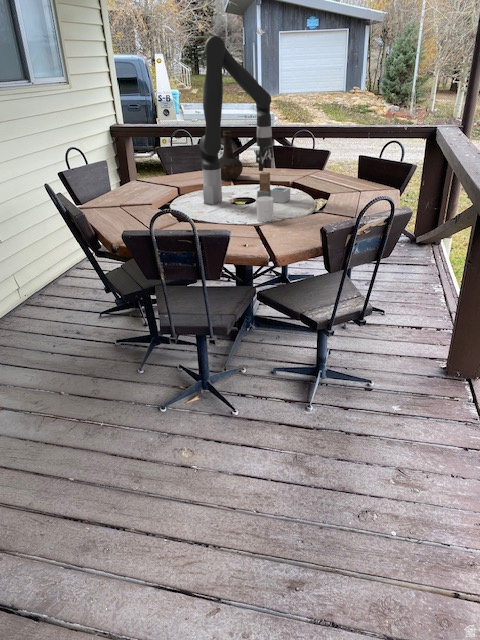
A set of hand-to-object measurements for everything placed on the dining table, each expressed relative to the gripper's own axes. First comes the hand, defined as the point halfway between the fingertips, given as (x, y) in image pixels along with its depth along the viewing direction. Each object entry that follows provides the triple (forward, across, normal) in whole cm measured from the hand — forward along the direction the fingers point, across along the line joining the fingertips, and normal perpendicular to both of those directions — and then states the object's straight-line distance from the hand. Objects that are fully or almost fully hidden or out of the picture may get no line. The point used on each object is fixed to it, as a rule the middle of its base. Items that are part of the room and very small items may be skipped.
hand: (264, 169), depth 250 cm
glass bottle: (+16, +36, +44) cm, 59 cm away
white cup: (+15, -33, -17) cm, 40 cm away
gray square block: (+15, 0, 0) cm, 15 cm away
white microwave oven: (+15, 0, -9) cm, 18 cm away
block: (+11, 0, 0) cm, 11 cm away
